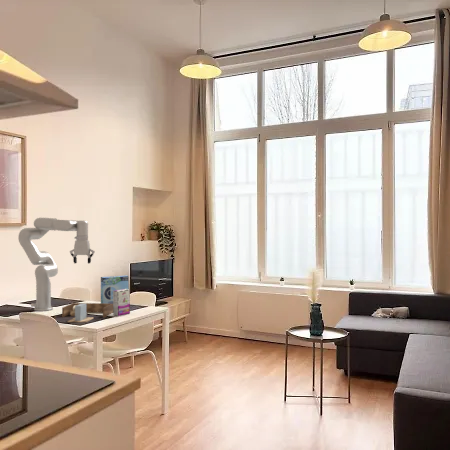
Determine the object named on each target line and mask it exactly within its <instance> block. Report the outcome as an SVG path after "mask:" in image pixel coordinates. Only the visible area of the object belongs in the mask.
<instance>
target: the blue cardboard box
mask: <svg viewBox="0 0 450 450" xmlns="http://www.w3.org/2000/svg"><path fill="white" fill-rule="evenodd" d="M122 289H129V275H126V274H125V275H115V276H114V275H111V276H101V277H100V303H110V304H113V291H117V290H122Z"/></svg>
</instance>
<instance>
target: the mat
mask: <svg viewBox="0 0 450 450" xmlns="http://www.w3.org/2000/svg"><path fill="white" fill-rule="evenodd" d="M93 319H94V317H92V316H91V317H90V316H86V318H85V319H83V320H81V321H75V317H73V318H71V319H68V320H67V323H88V322H90V321H91V320H93Z"/></svg>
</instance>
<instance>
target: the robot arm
mask: <svg viewBox="0 0 450 450" xmlns="http://www.w3.org/2000/svg"><path fill="white" fill-rule="evenodd" d="M33 226H34V227H25V228H22V229H21V230H20V231H19V233H18V235H17V236H18V242H19V245H20V246H21V247H22V249H23V251H24V253H25V254H26V256H27V258H28V259H29V261H30V263H31V264H32V265H33V266H37V267H36V268H35V270H34V276H35V280H36V281H35V284H36V286H35V288H36V289H35V291H36V293H35V297H36V298H35V303H31V304H30V306H31V307H34V308H33V311H35V312H36V311H37V312H43V311H44V312H46V311H51V310H54V307H53V306H52V304H51V303H52V302H51V301H52V300H51V299H52V284H51V279H50V278H52V277H55V276H56V275H57V274H58V272H59V269H58V266H57V264H56V263H55V261H54V258H53V257H52V255H51V254H50V253H49V252H47V251H44V250H42V251H41V250H39V249H40V248H38V246H37V245H36V244H35V243H34V242H33V241H34V240H40V239H41V238H43V237H44V236H45V235H46V234H47V233H48V232H49V231H53V232H54V231H60V232H76V236H75V237H74V239H75V241H74V245H73V247H74V248H73V249H72V250H69V253H70V256H71V257H72V258H73V259H72V261H73V264H77V263H78V261H77V259H78V258H77V257H78V256H86V257H87V264H91V261H92V257H93V256H94V254H95V250H94V249H92V248H91V246H90V245H91V244H90V240H89V223H88V220H73V219H57V218H55V217H54V218H51V217H37V218H36V219H35V220H33ZM32 240H33V241H32Z"/></svg>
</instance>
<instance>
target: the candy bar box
mask: <svg viewBox="0 0 450 450" xmlns="http://www.w3.org/2000/svg"><path fill="white" fill-rule="evenodd" d="M130 294H131V291H130V289H129V288H128V289H122V290H117V291H113V313H112V314H113V316H114V317H121V316H125V315H129V314H131V305H130V304H131V302H130V301H131V300H130V299H131V298H130V296H131V295H130Z"/></svg>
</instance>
